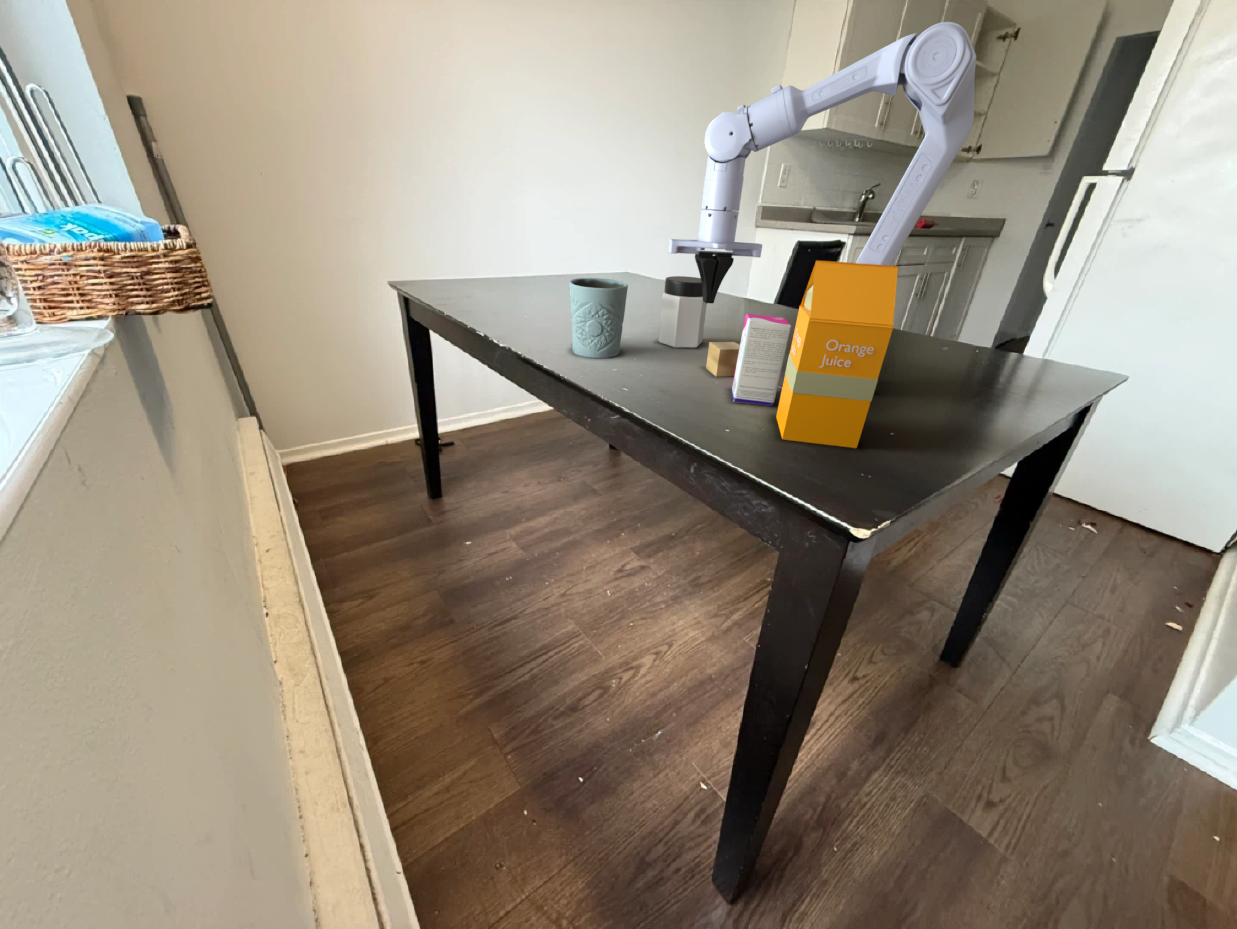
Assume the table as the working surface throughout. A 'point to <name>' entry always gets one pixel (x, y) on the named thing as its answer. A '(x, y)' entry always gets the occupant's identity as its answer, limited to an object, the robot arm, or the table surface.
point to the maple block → (722, 358)
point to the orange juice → (837, 352)
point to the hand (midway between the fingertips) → (708, 302)
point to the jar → (682, 312)
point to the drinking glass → (597, 316)
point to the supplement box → (760, 359)
